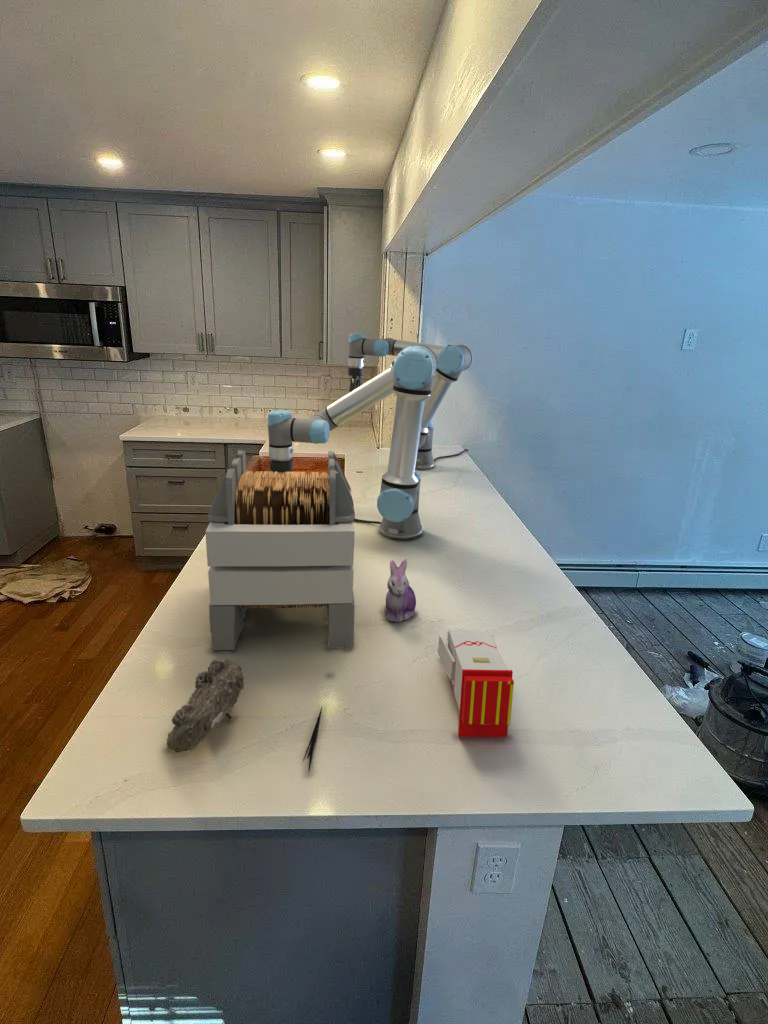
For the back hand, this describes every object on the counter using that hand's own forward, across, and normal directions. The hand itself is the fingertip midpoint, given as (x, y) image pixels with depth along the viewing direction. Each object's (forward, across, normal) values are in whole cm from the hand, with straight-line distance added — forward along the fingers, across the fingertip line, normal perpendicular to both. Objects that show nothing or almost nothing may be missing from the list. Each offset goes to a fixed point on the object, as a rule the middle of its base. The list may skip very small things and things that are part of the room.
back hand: (354, 411), depth 280 cm
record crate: (+26, -152, -13) cm, 155 cm away
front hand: (+20, -101, +4) cm, 103 cm away
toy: (+26, -174, -60) cm, 186 cm away
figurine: (+26, -146, -41) cm, 154 cm away
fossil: (+26, -192, -11) cm, 194 cm away
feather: (+26, -189, -31) cm, 193 cm away
